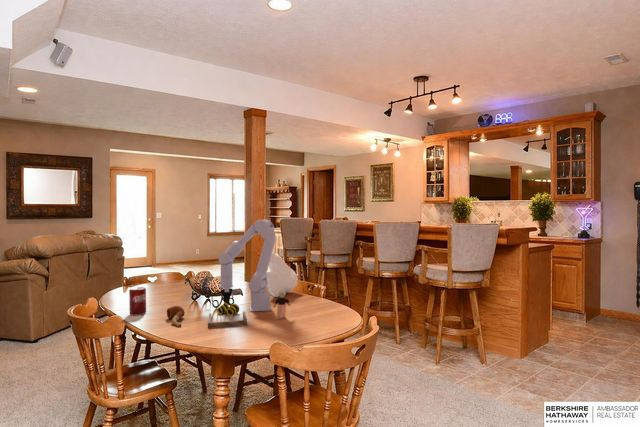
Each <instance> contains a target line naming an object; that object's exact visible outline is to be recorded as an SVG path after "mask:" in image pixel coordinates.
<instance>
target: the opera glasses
mask: <svg viewBox="0 0 640 427" xmlns="http://www.w3.org/2000/svg"><path fill="white" fill-rule="evenodd" d="M216 310H217V312H218V313H217V314H220V315H223V314H226V315H228V316H230V317H231V316H233V315H236V314H238V313H239V312H240V307H239V305H238V304H237V303H232V304H230V305H229V304H227V303H224V302H223V304H221V305H220V306H218V307H217V309H216Z"/></svg>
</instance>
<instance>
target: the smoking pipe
mask: <svg viewBox="0 0 640 427" xmlns="http://www.w3.org/2000/svg"><path fill="white" fill-rule="evenodd" d="M185 314H186V313H185V309H184V308H183V307H181V306H179V305H173V306H171V307H168V308H167V309H166V316H167V318H168V319H169V320H171V324H173V325H175V326H177V327H178V328H180V327H182V324H181V323H180V322H178V321H180V319H182V318H183V317H184V316H185Z"/></svg>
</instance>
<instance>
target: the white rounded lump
mask: <svg viewBox="0 0 640 427" xmlns="http://www.w3.org/2000/svg"><path fill="white" fill-rule="evenodd" d="M268 268H269V270H267V286H266V287H267V289H268V291H270V295H271V296H273V297H274V298H278V297H279V295H278V292H279V291H280V290H283V291H285V293H286V294H287V293H290V292H292V291H293V290H294V289H295V287H296V286H297V285H298V275H297V273H296V272H295V270H293V268H291V267H290V266H289V265H288V264H286V262H285V260H283V257H281V255H280V254H278V253H276V252H275V251H274V250H273V252H272V255H271V259H270V262H269V266H268Z"/></svg>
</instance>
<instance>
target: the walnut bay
mask: <svg viewBox="0 0 640 427" xmlns="http://www.w3.org/2000/svg"><path fill="white" fill-rule="evenodd" d="M242 318H243V319H241V320H239V319H238V320H226V321H213V322H212V313H208V319H207V328H208V329H210V328H211V329H212V328H227V327H242V326H243V327H244V326H248V318H247V314H246V311H242Z"/></svg>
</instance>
